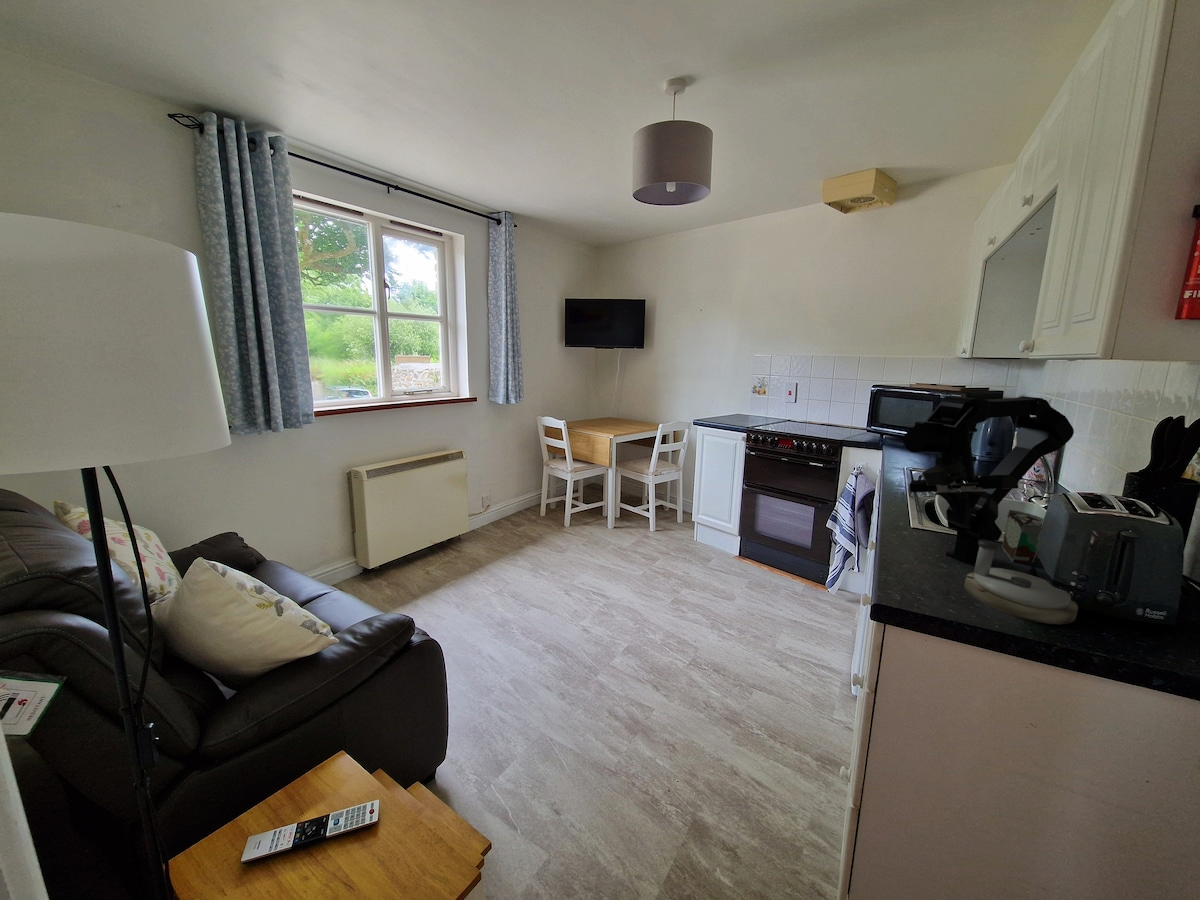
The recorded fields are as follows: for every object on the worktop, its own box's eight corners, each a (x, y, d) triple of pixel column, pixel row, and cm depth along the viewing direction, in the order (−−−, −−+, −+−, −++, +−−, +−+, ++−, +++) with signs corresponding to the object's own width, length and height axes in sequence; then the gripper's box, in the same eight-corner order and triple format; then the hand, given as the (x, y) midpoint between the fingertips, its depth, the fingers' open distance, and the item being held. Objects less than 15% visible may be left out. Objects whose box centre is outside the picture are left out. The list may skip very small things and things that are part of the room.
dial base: (990, 574, 100) (992, 565, 100) (1092, 612, 86) (1095, 602, 85) (947, 588, 94) (949, 578, 93) (1049, 632, 79) (1052, 621, 79)
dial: (996, 567, 98) (1004, 533, 97) (1083, 600, 86) (1094, 560, 84) (958, 579, 93) (966, 543, 91) (1047, 615, 80) (1058, 574, 78)
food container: (1049, 571, 103) (1060, 530, 100) (1014, 564, 106) (1024, 524, 103) (1031, 551, 113) (1041, 513, 111) (1000, 545, 116) (1008, 509, 114)
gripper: (889, 456, 105) (896, 524, 103) (979, 446, 88) (990, 526, 86) (922, 458, 109) (929, 522, 107) (1014, 448, 92) (1025, 525, 90)
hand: (963, 524), depth 98 cm, fingers closed
